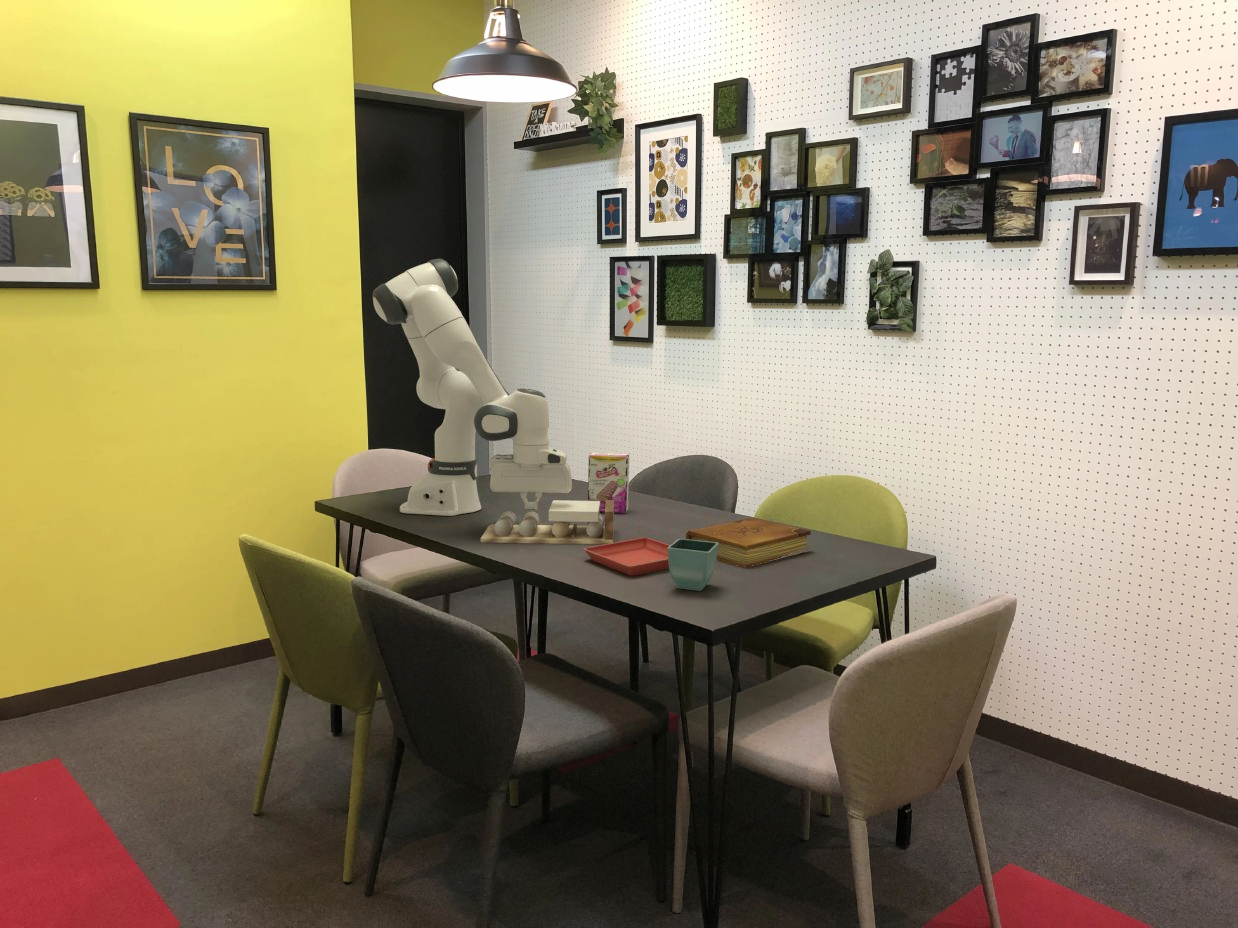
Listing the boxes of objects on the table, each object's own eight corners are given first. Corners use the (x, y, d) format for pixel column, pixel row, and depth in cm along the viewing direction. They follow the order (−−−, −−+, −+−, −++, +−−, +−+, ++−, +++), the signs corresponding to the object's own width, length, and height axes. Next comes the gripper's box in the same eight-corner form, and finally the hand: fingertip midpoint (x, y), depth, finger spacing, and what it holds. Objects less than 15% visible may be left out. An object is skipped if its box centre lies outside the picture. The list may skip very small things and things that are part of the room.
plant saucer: (629, 580, 196) (629, 565, 196) (582, 561, 211) (582, 547, 210) (694, 567, 207) (695, 553, 206) (645, 550, 221) (645, 537, 221)
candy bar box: (587, 512, 260) (587, 454, 257) (589, 509, 265) (590, 452, 262) (627, 514, 259) (627, 456, 256) (628, 510, 264) (629, 453, 261)
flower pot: (718, 583, 194) (719, 541, 192) (708, 595, 185) (709, 551, 184) (677, 579, 196) (678, 537, 195) (665, 590, 188) (666, 547, 187)
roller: (553, 538, 227) (550, 523, 226) (557, 528, 238) (554, 513, 237) (569, 535, 227) (566, 520, 226) (572, 525, 238) (569, 510, 237)
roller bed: (480, 542, 225) (480, 509, 224) (489, 528, 240) (489, 497, 239) (612, 544, 225) (613, 512, 224) (613, 530, 240) (614, 499, 239)
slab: (548, 521, 225) (548, 510, 225) (553, 509, 238) (553, 500, 238) (598, 521, 225) (598, 511, 225) (599, 510, 238) (600, 501, 238)
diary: (749, 539, 235) (750, 517, 234) (809, 554, 221) (811, 530, 220) (685, 553, 220) (686, 529, 219) (745, 570, 206) (746, 544, 205)
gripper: (487, 456, 227) (487, 511, 229) (571, 457, 227) (570, 512, 229) (490, 452, 233) (491, 506, 235) (572, 453, 233) (572, 507, 235)
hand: (531, 509), depth 232 cm, fingers closed
